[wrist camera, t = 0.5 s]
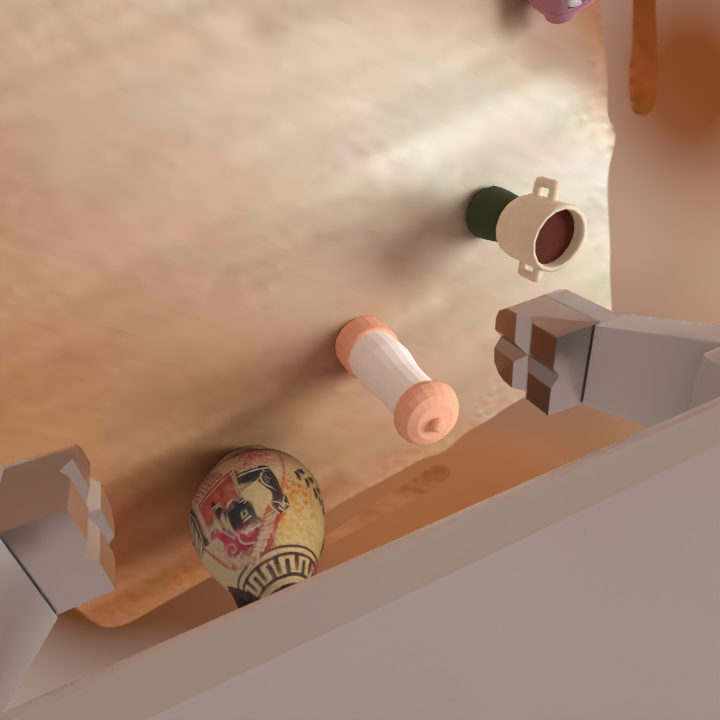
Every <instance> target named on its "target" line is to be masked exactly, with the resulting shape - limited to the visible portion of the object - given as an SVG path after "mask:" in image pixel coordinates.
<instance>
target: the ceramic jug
mask: <svg viewBox="0 0 720 720" xmlns="http://www.w3.org/2000/svg"><path fill="white" fill-rule="evenodd" d="M189 520H190V531H191V537H192V540H193V545H194V547H195V549H196V551H197V554H198V556H199V558H200V560H201V562H202V563H203V565H204V566H205V568H206V569H207V571H208V572H209V573H210V574H211V575H212V576H213V577H214V578H215V580H217V581H218V582H219V583H220V584H221V585H222V586H224V588H226V590H227V591H229V592H231V593H232V595H233V597H234V599H235V601H236V604H237V606H238V608H241V607H244V606H246V605H248V604H250V603H253V602H255V601H257V600H260V599H262V598H264V597H266V596H269V595H271V594H273V593H275V592H278V591H280V590H282V589H284V588H287V587H289V586H291V585H294V584H296V583H298V582H300V581H303V580H305V579H307V578H309V577H312V576H314V575H315V574H316V571H317V568H318V564H319V560H320V557H321V553H322V549H323V545H324V538H325V531H326V525H325V513H324V505H323V500H322V496H321V492H320V489H319V486H318V483H317V481H316V479H315V478H314V476H313V475H312V474H311V472H310V471H309V470H308V469H307V468H306V467H305V466H304V465H303V464H302V463H301V462H300V461H298V460H297V459H295V458H294V457H292V456H291V455H289V454H286V453H284V452H282V451H279V450H275V449H268V448H265V447H263V446H245V447H241V448H238V449H236V450H234V451H232V452H230V453H228V454H227V455H225V456H224V457H223V458H222V459H221V460H220V461H219V462H218V463H217V464H216V465H215V467H214V468H213V469H212V470H211V471H210V472H209V474H208V475H207V476H206V477H205V478H204V479H203V481H202V482H201V484H200V486H199V487H198V489H197V491H196V492H195V495H194V497H193V500H192V504H191V512H190V519H189Z"/></svg>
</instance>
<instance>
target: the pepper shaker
mask: <svg viewBox="0 0 720 720" xmlns="http://www.w3.org/2000/svg"><path fill="white" fill-rule="evenodd" d="M335 351H336V356H337V357H338V359H339V361H340V362H341V363H342V365H343V366H344V367H345V369H346V370H347V371H348V372H349V374H351V375H352V376H353V377H354V378H356V379H358V380H359V381H360V383H361V384H362V386H363V387H364V388H365V389H367V390H368V391H369V392H371V393H372V394H373V395H374V396H376V397H377V398H378V399H380V400H381V401H382V402H383V403H384V405H385V406H386V407H387V408H388V409H389V410H390V412H391V413H392V414H393V415H394V423H395V428H396V430H397V432H398V434H399V435H400V436H401V437H403V438H404V439H405V440H407V441H408V442H410V443H415V444H422V445H423V444H431V443H433V442H436V441H438V440H440V439H441V438H443V437H444V436H445V435H446V434H447V433H448V432H449V431H450V430H451V429H452V428H453V426H454V424H455V423H456V420H457V417H458V399H457V397H456V394H455V392H454V390H453V389H452V388H451V387H450V386H448V385H447V384H444V383H441V382H438V381H432V380H431V379H430V378H429V377H428V376H427V375H426V374H425V373H424V372H423V371H422V370H421V369H420V368H419V366H418V365H417V363H416V362H415V360H414V359H413V357H412V356H411V354H410V353H409V351H408V350H407V349H406V348H405V347H404V346H403V345H402V344H401V343H399V341H398V339H397V337H396V335H395V334H394V333H393V332H392V331H391V330H390V329H389V328H387V327H386V326H385V325H384V324H383V323H382V322H381V321H380V320H379V319H377V318H374V317H370V316H363V317H359V318H356V319H354V320H352V321H350V322H349V323H347V324H346V325H345V326H344V327H343V329H342V330H341V331H340V333H339V335H338V337H337V339H336V344H335Z"/></svg>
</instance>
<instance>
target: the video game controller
mask: <svg viewBox="0 0 720 720" xmlns="http://www.w3.org/2000/svg"><path fill="white" fill-rule="evenodd" d="M527 1H528V2H529V3H530V4H531V5H532V6H533V7H534V8H535V9H537V10H538V11H539V12H541V13H542V14H543V15H545V18H546V20H547V21H549V22H550V23H553V24H561V23H564V22H567V21H570V20H571V19H573V18H574V17H575V16H576V15H577V14H578V12H579V11H581V10H583V9H584V8H586V7H587V6H589V5H590V4H592V3H593V2H594V1H595V0H527Z"/></svg>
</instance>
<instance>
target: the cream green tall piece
mask: <svg viewBox="0 0 720 720" xmlns="http://www.w3.org/2000/svg"><path fill="white" fill-rule="evenodd" d="M543 187H544V188H548V189H549V193H548V197H545V196H542V192H543ZM559 190H560V183H559V182H557V181H556V180H553V179H549V178H545V177H538V178H537V179H536V180H535V182H534V187H533V193H532V194H528V195H524V196H520V197H519V196H517V195H515V194H514V193H512V192H510V191H508V190H506V189H503V188H501V187H497V186H491V187H488V188H485V189H483V190H482V191H481V192H479V193H478V194H477V195H476V196H475V197H474V198H473V200H472V202H471V203H470V205H469V207H468V211H467V218H466V220H467V223H468V226H469V229H470V231H471V232H472V233H473V234H474V235H475V236H476V237H479V238H483V239H486V240H491V241H496V242H498V244H499V246H500V248H501V249H502V250H503V251H504V252H506V253H507V254H508V255H509V256H511V257H513V258H515V259H517V260H519V261H520V263H519V268H518V273H519V274H520V275H521V276H523V277H525V278H527V279H529V280H531V281H533V282H538V281H539V280H540V278H541V275H542V271H547V272H554V271H557V270H559V269H562V268H564V267H565V266H566V265H567V264H569V263H570V262H571V261H572V260H573V259H574V258H575V256H576V255H577V254H578V253H579V251H580V250H581V248H582V246H583V243H584V241H585V238H586V233H587V222H586V219H585V216H584V213H583V212H582V211H581V210H580V209H579V208H578V207H576V206H574V205H572V204H568V203H564V202H561V201H558V200H557V199H558V194H559ZM528 265H530V266H532V267H534V268H533V272H532V271H530V270H528Z"/></svg>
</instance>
